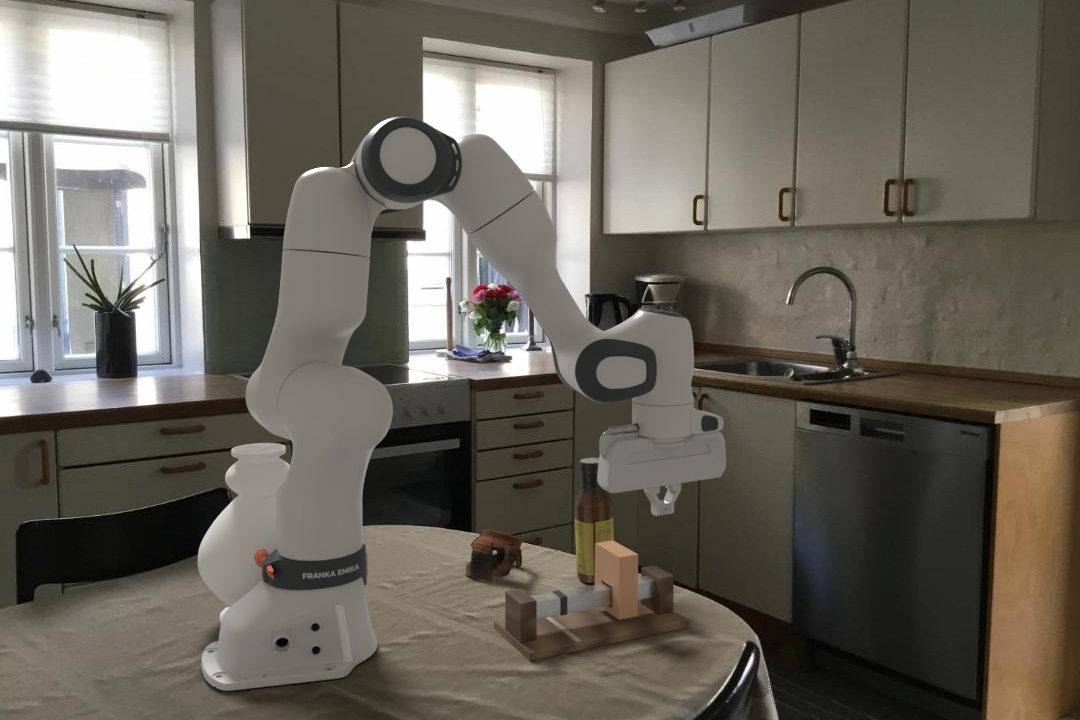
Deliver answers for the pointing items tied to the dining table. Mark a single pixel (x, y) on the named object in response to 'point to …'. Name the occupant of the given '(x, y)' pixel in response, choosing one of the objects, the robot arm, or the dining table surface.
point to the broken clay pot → (486, 561)
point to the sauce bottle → (591, 519)
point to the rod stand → (586, 617)
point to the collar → (618, 577)
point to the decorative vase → (244, 523)
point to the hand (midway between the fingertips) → (662, 513)
